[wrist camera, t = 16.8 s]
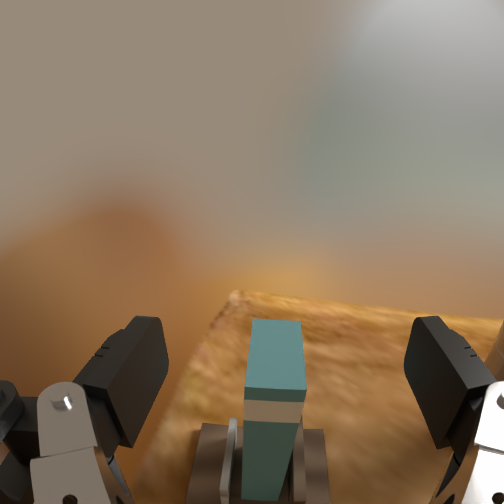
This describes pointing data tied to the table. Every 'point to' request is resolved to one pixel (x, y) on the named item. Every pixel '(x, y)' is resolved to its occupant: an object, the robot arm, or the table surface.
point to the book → (271, 406)
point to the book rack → (230, 468)
